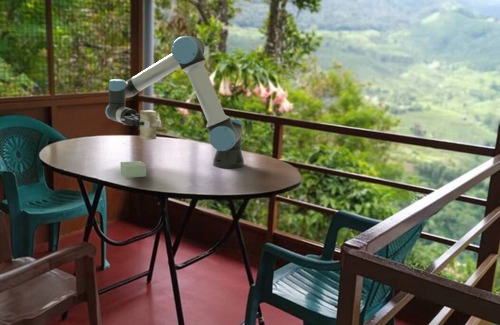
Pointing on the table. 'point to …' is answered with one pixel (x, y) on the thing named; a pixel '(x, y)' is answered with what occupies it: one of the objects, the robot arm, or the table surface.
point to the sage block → (133, 169)
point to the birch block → (151, 117)
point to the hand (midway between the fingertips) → (154, 124)
